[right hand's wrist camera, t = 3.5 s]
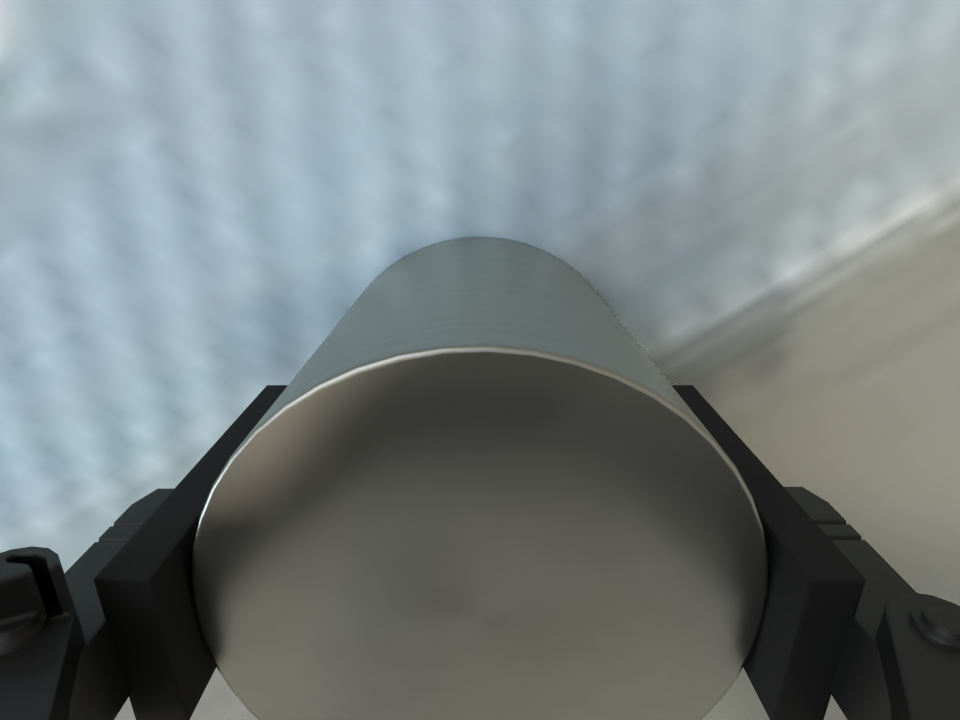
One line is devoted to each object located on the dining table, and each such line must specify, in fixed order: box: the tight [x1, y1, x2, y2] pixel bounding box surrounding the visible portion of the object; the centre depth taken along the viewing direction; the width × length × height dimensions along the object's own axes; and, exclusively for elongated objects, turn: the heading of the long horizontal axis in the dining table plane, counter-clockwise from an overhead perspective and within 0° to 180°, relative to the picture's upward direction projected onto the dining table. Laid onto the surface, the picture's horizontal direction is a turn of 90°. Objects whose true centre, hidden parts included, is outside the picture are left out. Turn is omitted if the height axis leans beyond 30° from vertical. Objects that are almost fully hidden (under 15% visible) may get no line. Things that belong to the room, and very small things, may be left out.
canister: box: [191, 237, 768, 720], centre depth 13 cm, size 9×9×9 cm
